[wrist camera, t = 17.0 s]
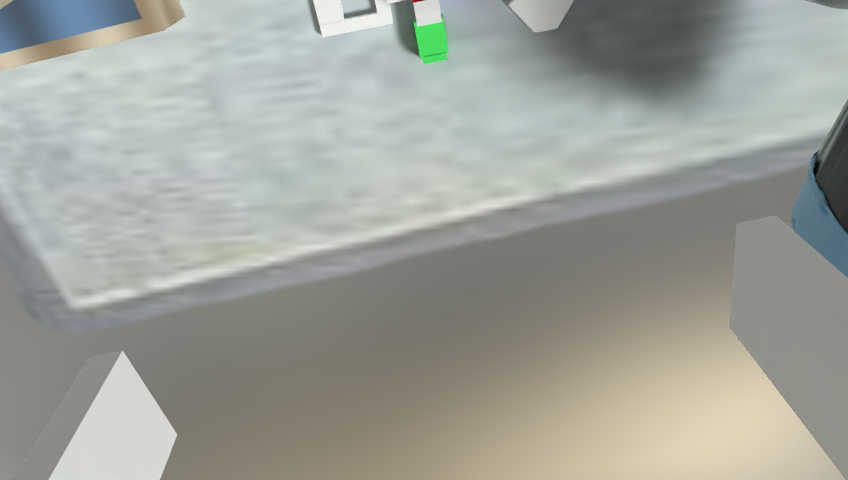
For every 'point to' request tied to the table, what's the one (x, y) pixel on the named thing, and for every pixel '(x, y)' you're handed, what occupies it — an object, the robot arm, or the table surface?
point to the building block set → (433, 20)
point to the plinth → (76, 26)
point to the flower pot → (4, 3)
